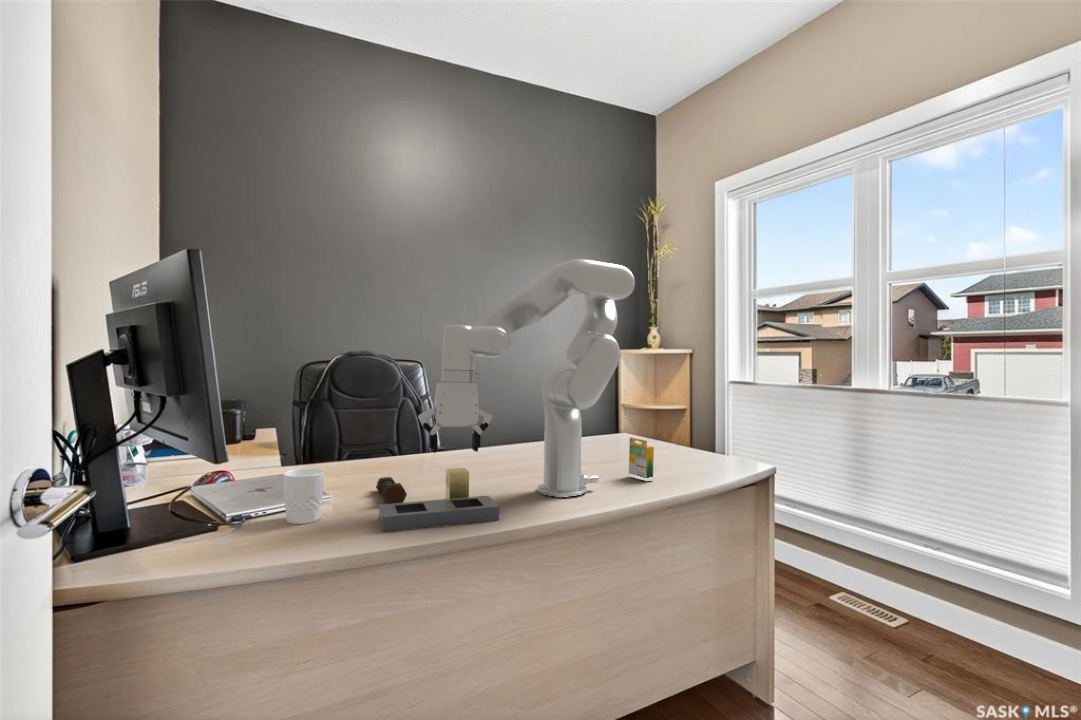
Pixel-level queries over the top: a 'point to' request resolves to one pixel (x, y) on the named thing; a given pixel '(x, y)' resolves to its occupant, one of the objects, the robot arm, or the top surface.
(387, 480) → the bolt
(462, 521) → the grey peg board
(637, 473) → the crayon box
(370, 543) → the top surface
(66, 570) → the top surface
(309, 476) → the white cup
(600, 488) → the top surface
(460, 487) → the gold block
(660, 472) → the top surface
